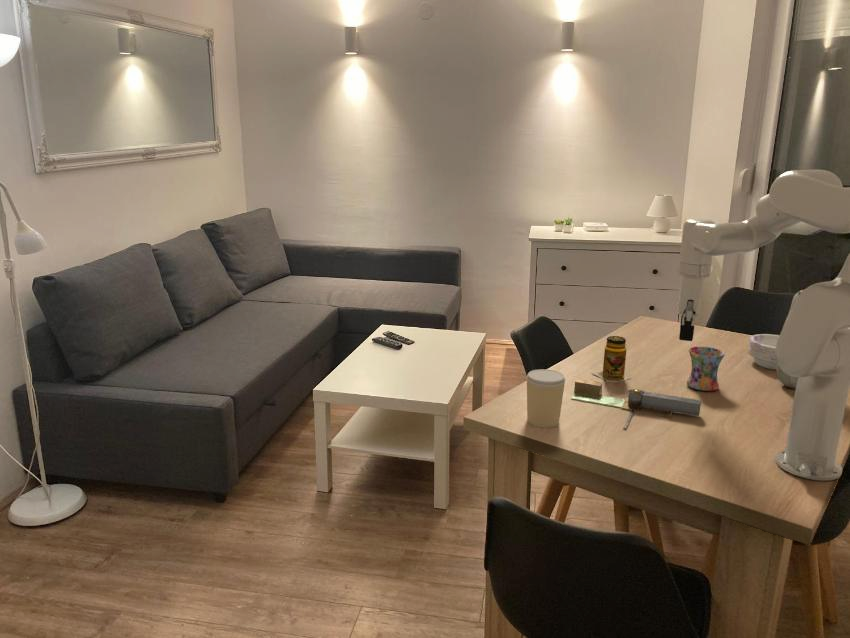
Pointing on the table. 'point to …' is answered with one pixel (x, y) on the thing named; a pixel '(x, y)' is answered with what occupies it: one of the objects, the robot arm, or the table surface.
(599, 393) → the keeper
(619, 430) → the table surface
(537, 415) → the coffee cup
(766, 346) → the paper bowls
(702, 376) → the mug
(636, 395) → the swing bar
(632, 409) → the plate
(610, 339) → the condiment
